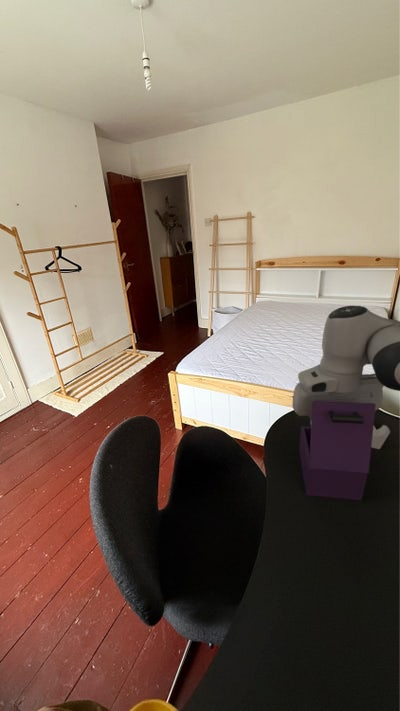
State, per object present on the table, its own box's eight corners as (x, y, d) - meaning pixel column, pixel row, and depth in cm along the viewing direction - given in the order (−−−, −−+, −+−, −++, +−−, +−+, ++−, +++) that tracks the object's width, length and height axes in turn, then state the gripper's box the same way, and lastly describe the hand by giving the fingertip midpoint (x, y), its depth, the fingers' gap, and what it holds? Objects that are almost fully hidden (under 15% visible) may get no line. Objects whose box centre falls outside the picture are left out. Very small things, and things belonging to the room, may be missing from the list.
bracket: (378, 451, 85) (390, 431, 82) (353, 445, 86) (364, 425, 82) (362, 422, 97) (372, 404, 94) (341, 417, 97) (350, 399, 94)
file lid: (312, 400, 66) (316, 409, 62) (374, 403, 64) (383, 412, 59) (309, 466, 70) (312, 479, 65) (367, 471, 67) (375, 484, 63)
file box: (299, 449, 87) (301, 426, 83) (345, 453, 85) (349, 428, 81) (306, 495, 73) (309, 468, 70) (361, 500, 71) (367, 473, 67)
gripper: (378, 366, 71) (369, 413, 76) (291, 373, 71) (289, 420, 77) (393, 379, 65) (382, 429, 71) (299, 387, 65) (296, 436, 71)
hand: (333, 424), depth 74 cm, fingers open, 8 cm apart
